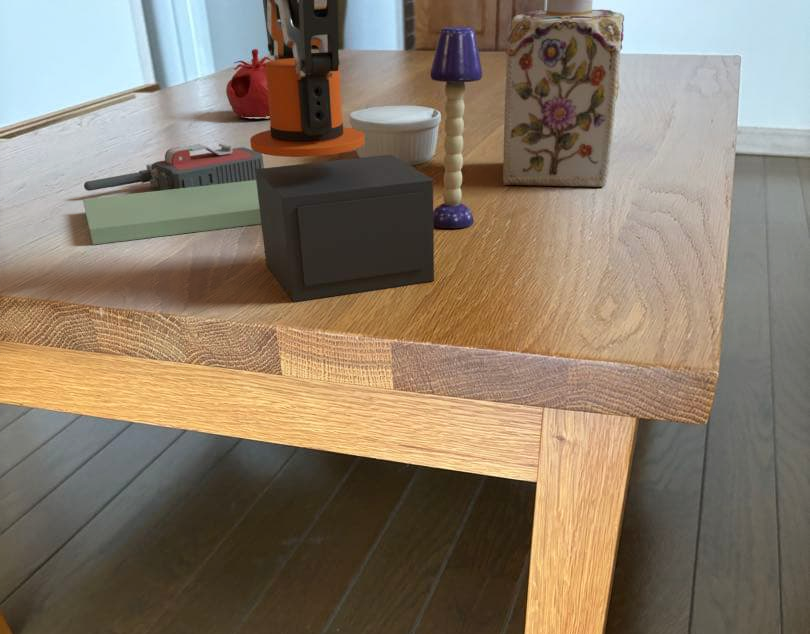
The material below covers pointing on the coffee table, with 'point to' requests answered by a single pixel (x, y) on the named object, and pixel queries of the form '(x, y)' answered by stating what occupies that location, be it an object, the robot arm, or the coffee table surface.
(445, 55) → the toy lamp
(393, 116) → the ramekin
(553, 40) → the decorative jar
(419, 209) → the box
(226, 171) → the walkie-talkie
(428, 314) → the coffee table surface
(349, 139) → the hat
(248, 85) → the red hollow tomato
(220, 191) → the board
